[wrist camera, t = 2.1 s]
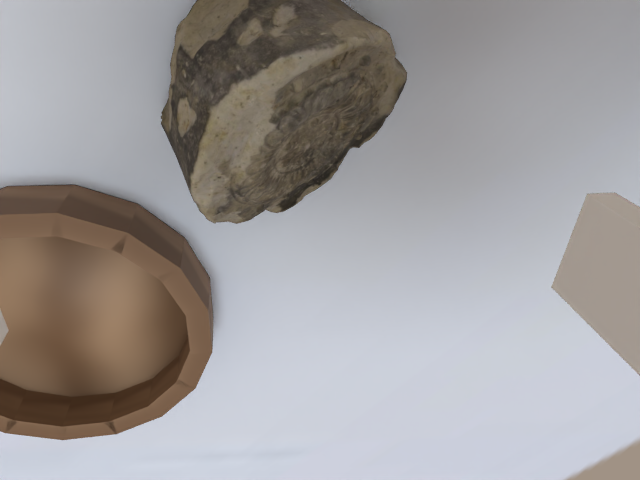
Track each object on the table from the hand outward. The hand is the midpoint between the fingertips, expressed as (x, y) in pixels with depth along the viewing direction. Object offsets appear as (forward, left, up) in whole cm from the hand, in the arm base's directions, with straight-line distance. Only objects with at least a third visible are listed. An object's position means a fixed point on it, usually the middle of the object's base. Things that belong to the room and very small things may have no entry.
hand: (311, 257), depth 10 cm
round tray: (+11, +12, -15) cm, 22 cm away
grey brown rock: (-1, 0, -15) cm, 15 cm away
